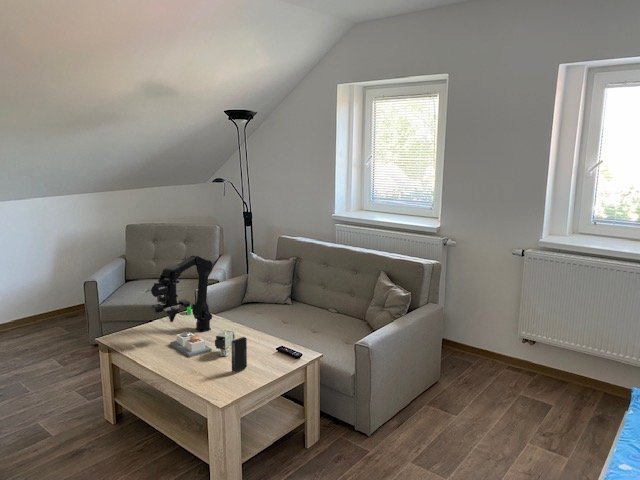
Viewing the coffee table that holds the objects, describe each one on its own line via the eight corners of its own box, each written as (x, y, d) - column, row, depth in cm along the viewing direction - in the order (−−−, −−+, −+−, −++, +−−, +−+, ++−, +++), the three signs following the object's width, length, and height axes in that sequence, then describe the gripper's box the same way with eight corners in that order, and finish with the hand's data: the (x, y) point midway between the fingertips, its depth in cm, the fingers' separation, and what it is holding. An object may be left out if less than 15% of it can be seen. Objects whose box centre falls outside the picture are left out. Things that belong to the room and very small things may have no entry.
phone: (233, 373, 223) (232, 341, 221) (231, 372, 224) (231, 340, 221) (246, 367, 229) (246, 336, 226) (245, 367, 229) (245, 336, 227)
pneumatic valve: (235, 351, 248) (234, 328, 247) (223, 360, 237) (222, 336, 236) (225, 350, 250) (225, 327, 248) (213, 358, 239) (212, 334, 237)
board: (191, 339, 264) (191, 329, 263) (211, 351, 248) (211, 341, 247) (170, 344, 256) (170, 334, 256) (189, 357, 240) (189, 346, 239)
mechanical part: (197, 318, 302) (197, 305, 301) (187, 318, 301) (187, 305, 300) (198, 312, 314) (198, 300, 313) (188, 313, 313) (188, 300, 312)
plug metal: (188, 340, 259) (188, 331, 258) (192, 342, 255) (192, 333, 255) (180, 342, 256) (179, 333, 255) (184, 344, 252) (183, 335, 252)
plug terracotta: (197, 343, 251) (197, 334, 250) (201, 346, 248) (201, 337, 247) (188, 345, 248) (188, 336, 248) (192, 348, 245) (192, 339, 244)
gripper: (181, 286, 265) (181, 315, 267) (146, 292, 253) (147, 321, 255) (190, 291, 257) (191, 320, 259) (155, 296, 245) (156, 327, 247)
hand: (171, 322), depth 255 cm, fingers closed
